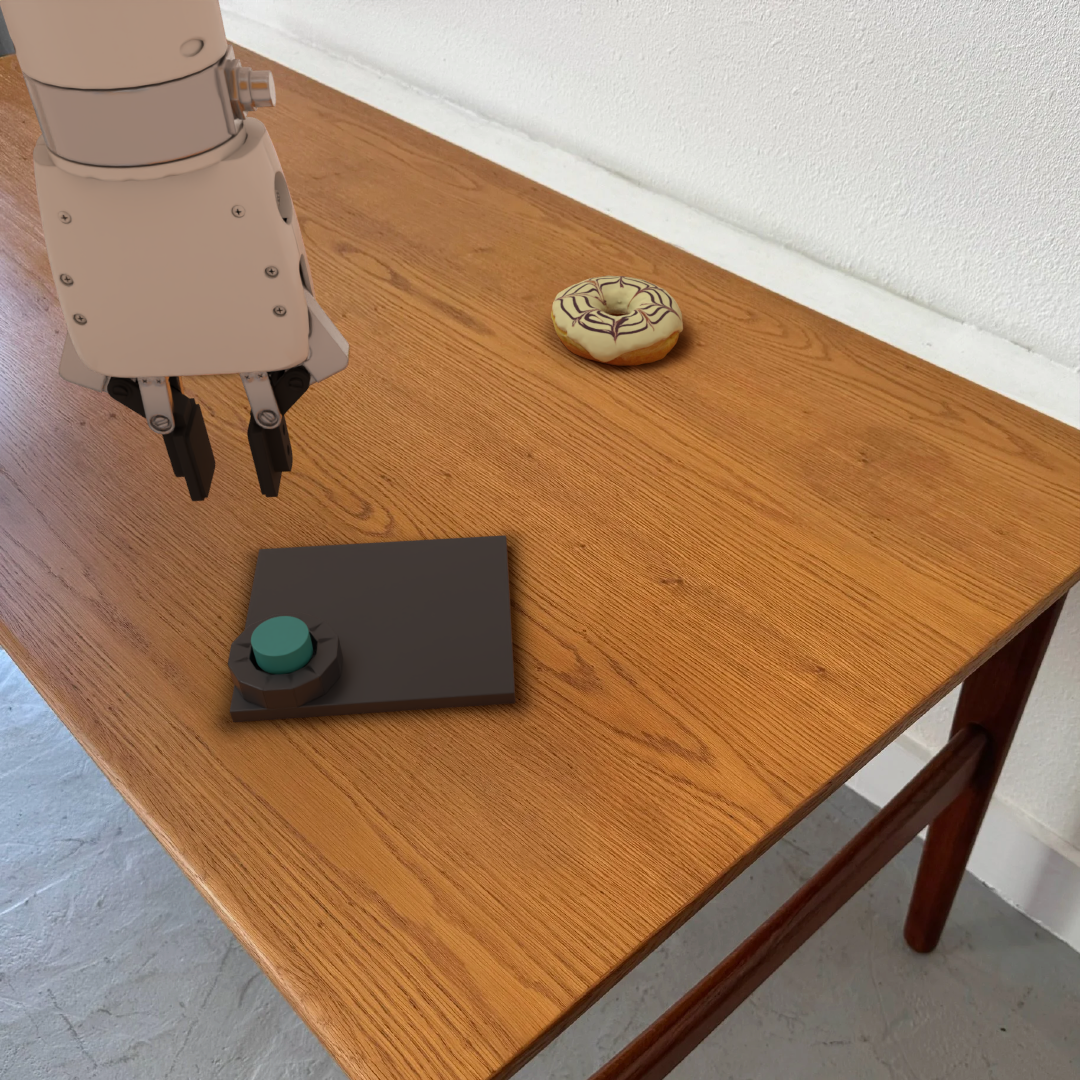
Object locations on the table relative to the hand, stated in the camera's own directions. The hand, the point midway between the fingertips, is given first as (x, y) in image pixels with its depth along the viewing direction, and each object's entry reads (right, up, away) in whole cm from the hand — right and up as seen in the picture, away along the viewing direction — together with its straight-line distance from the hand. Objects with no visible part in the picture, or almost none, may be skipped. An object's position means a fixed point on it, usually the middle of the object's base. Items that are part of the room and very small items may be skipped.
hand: (238, 479), depth 57 cm
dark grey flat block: (+4, -8, +14) cm, 16 cm away
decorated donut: (+19, +16, +39) cm, 46 cm away
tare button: (0, -9, +9) cm, 13 cm away
